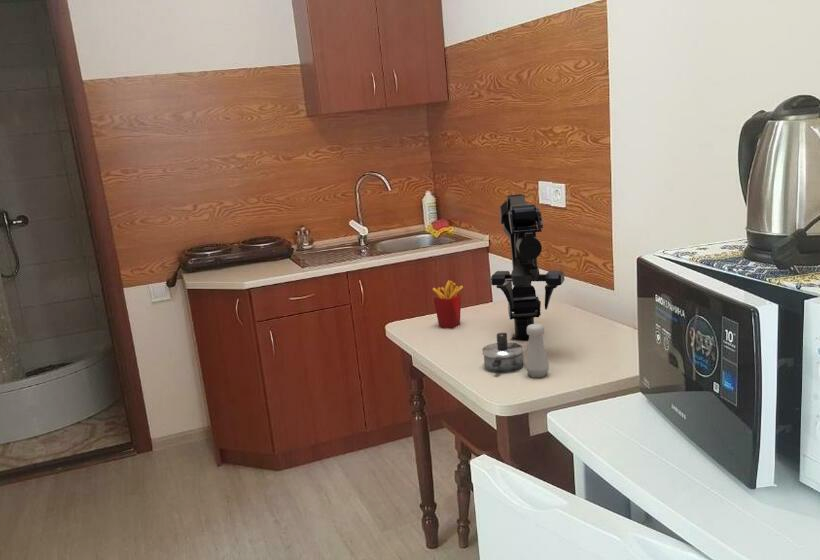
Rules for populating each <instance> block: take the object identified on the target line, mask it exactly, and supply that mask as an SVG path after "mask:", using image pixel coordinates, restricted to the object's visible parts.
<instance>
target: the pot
mask: <svg viewBox="0 0 820 560" xmlns="http://www.w3.org/2000/svg"><path fill="white" fill-rule="evenodd" d="M483 361H484V363H483V364H484V365H483V366H484V369H485V370H486V371H488V372H489V373H490V372H491V373H497V374H505V373H507V374H508V373H512V372H513V373H514V372H517V371H519V370H522V368H523V367H524V359H523V353H522V354H520V355H518V356H516V357H512V358H504V359H496V358H489V357H486V356H484V355H483Z"/></svg>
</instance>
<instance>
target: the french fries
mask: <svg viewBox="0 0 820 560" xmlns="http://www.w3.org/2000/svg"><path fill="white" fill-rule="evenodd" d="M462 289H464V286H463V285H460V286H458V285H456V283H455V282H454V281H452V280H449V279H448V280H447V282H446V283H445V286H444V287H443V286H441V287H440V286H439V287H437V288H435V287H433V288H432V289H431V290H432V292H434V293H435V294H437V295H436V296H435V297H434V298H433V302H434V307H435V313H436V318H437V323H438V327H441V328H440V329H446V328H454V327H455V328H457V327H458V325H459V326H460V325H461V310H462V309H461V308H462V306H461V305H462V294H461V293H459V292H460V291H461V290H462ZM441 291H443V293H442V292H441ZM456 326H457V327H456ZM455 328H454V329H455Z"/></svg>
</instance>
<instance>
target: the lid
mask: <svg viewBox="0 0 820 560" xmlns="http://www.w3.org/2000/svg"><path fill="white" fill-rule="evenodd" d="M523 353H524V347H523V345H521V344H520V343H517V342H509V341H508V334H507V333H506V332H498V333H496V342H495V343H490V344H488V345H485V346H484V347H483V348H482V355H483V357H484V356H486V357H489V358H496V359H504V358H512V357H516V356H518V355H520V354H522V355H523Z"/></svg>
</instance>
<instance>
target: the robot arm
mask: <svg viewBox="0 0 820 560" xmlns="http://www.w3.org/2000/svg"><path fill="white" fill-rule="evenodd" d="M499 221H500V225H502V228H503V233H505V234H506V236H507V237H508V239H509V244H510V245H509V246H510V247H509V248H510V254H511V264H512V270H511V273H510V270H496V272H494V273H493V274H492V275H491V276H490V284H491V286H496V289H499V290H501V291H502V292H503V295H504V296H505V297H506V300H507V303H508V307H507V308H508V309H507V310H508V316H509V320H513V323H514V334H513V335H512V337H511V339H512V340H525V341H526V340H527V341H529V335H528V334H527V326H528V325H531V324H535V318H540V316H541V306H542V305H541V304H542V302H541V300H540V299H539V296H537V294H536V293H537V292H536V289H535V287H534V285H532V282H545V286H544V290H545V291H544V309H545V310H546V311H547V310H548V307H549V304H550V300H551V297H552V294H553V292H554V290H555V289H557V288H558V286H561V285H562V284H563V283H564V281H565V273H564V271H563V270H548V271H547V272H546V273H544V274H543V273H540V269H539V266H538V257H539V256H540V255H541V253H542V243H541V242H540V241H539V239H538V238H537V233H541V232H542V231H543V230H542V229H543V228H544V223H543V219H542V213H541V211H540V209H539V207H537V206H536V204H535V203H528V201H526V198H525V194H522V193H519V194H517V193H516V194H509V195H507V196H506V200H505V201H504V202H503V203H502V204H501V205H500V207H499Z"/></svg>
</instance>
